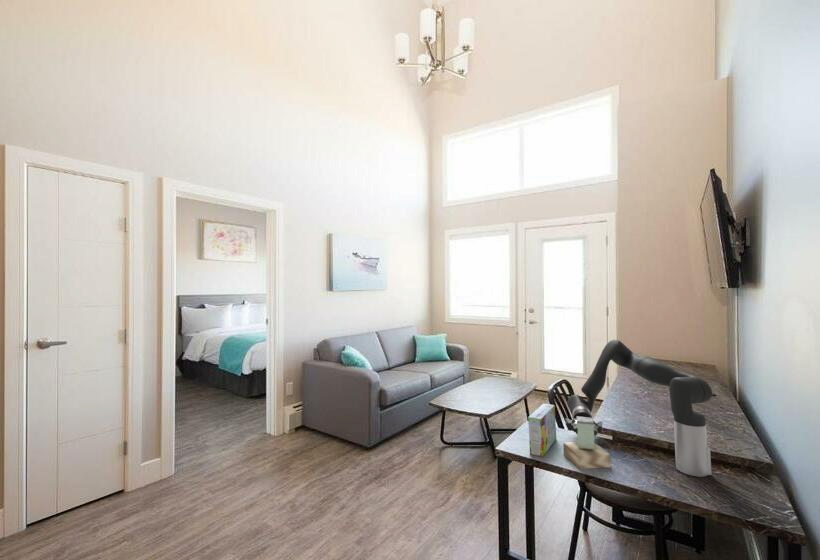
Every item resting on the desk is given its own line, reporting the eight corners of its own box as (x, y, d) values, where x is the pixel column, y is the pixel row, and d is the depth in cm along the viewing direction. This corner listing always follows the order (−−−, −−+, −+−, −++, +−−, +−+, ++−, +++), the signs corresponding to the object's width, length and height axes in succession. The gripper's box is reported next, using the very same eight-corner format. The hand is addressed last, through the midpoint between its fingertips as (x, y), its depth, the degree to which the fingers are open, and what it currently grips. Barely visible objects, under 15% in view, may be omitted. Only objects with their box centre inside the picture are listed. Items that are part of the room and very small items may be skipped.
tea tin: (577, 441, 145) (576, 416, 145) (593, 443, 143) (592, 417, 143) (578, 447, 140) (577, 421, 140) (594, 449, 138) (593, 422, 138)
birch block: (592, 453, 147) (592, 441, 147) (610, 468, 135) (610, 454, 135) (563, 455, 146) (563, 442, 147) (579, 469, 134) (579, 455, 135)
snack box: (543, 436, 164) (542, 402, 165) (557, 439, 161) (555, 404, 162) (528, 454, 147) (527, 416, 148) (542, 457, 144) (541, 418, 144)
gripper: (563, 406, 157) (564, 420, 142) (601, 410, 152) (606, 424, 136) (564, 424, 157) (565, 439, 141) (601, 428, 152) (607, 444, 136)
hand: (585, 432), depth 139 cm, fingers closed on tea tin, 5 cm apart
